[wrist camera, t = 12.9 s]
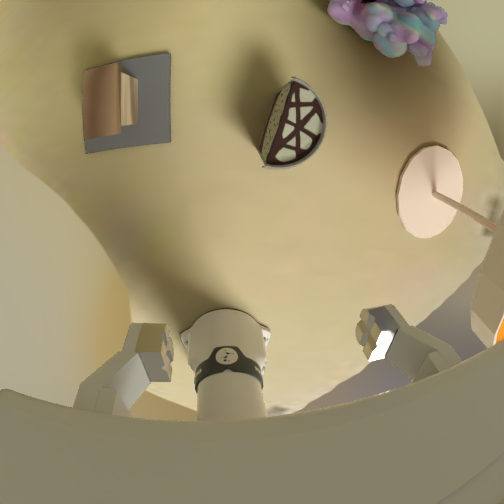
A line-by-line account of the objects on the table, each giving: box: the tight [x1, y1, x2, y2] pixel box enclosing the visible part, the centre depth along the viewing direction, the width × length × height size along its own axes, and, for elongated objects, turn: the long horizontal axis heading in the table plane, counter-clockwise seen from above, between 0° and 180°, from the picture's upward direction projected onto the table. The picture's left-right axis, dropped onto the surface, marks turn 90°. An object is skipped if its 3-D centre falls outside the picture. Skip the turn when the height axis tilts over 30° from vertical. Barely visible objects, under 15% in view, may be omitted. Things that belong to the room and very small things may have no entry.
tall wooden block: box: [83, 63, 138, 140], centre depth 28 cm, size 5×9×9 cm, turn 179°
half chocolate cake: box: [257, 77, 327, 169], centre depth 33 cm, size 12×6×10 cm, turn 163°
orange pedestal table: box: [396, 145, 504, 348], centre depth 31 cm, size 30×30×31 cm
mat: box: [84, 53, 171, 154], centre depth 32 cm, size 14×14×1 cm
